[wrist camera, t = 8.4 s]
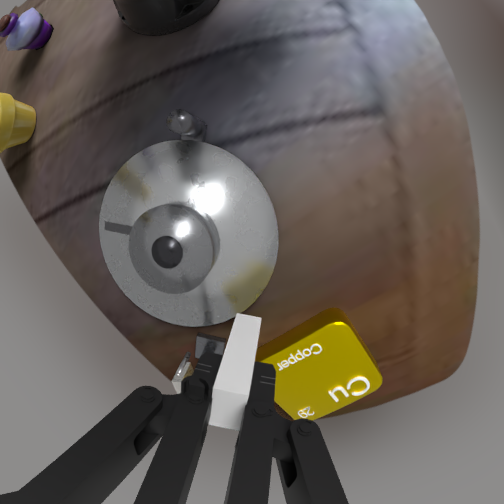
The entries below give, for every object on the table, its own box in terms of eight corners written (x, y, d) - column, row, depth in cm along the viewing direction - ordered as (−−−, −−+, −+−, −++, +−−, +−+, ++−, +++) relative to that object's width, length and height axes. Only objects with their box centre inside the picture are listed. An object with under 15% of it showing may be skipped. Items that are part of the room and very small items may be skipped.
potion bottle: (60, 9, 25) (20, -9, 14) (58, 40, 27) (12, 23, 16) (30, 34, 27) (-10, 22, 15) (28, 65, 29) (-17, 56, 17)
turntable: (115, 116, 31) (87, 110, 25) (300, 133, 29) (304, 125, 24) (105, 298, 39) (82, 317, 33) (259, 338, 37) (254, 366, 31)
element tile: (336, 300, 36) (343, 318, 31) (380, 367, 38) (387, 387, 34) (246, 352, 39) (242, 373, 35) (300, 407, 42) (300, 428, 37)
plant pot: (22, 165, 34) (-19, 171, 25) (6, 129, 33) (-31, 130, 23) (50, 120, 32) (6, 117, 22) (33, 86, 30) (-6, 80, 21)
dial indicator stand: (199, 325, 38) (171, 379, 27) (227, 331, 38) (207, 388, 27) (196, 353, 40) (171, 408, 29) (222, 359, 40) (204, 417, 28)
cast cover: (146, 196, 32) (128, 200, 28) (225, 207, 32) (216, 213, 27) (143, 272, 35) (127, 285, 31) (215, 288, 35) (206, 303, 30)
